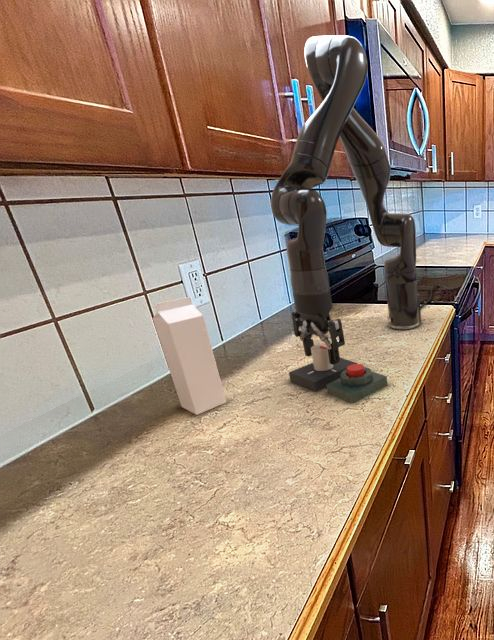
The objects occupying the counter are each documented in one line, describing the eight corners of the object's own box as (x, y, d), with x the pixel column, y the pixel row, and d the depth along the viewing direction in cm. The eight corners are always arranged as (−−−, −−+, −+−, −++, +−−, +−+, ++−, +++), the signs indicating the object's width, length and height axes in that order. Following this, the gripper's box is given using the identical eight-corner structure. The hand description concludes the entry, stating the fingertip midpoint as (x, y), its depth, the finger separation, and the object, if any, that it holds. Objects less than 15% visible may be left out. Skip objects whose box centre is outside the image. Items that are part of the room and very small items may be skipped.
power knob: (310, 368, 96) (306, 346, 94) (325, 362, 99) (322, 341, 97) (322, 372, 94) (318, 350, 92) (337, 366, 97) (334, 344, 95)
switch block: (362, 376, 98) (360, 360, 96) (387, 385, 94) (386, 369, 92) (327, 393, 90) (324, 376, 89) (353, 403, 86) (350, 386, 85)
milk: (227, 402, 87) (199, 298, 78) (196, 415, 82) (163, 306, 73) (211, 395, 90) (182, 294, 81) (180, 407, 85) (146, 301, 76)
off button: (357, 369, 93) (356, 362, 92) (368, 373, 91) (367, 366, 91) (344, 375, 90) (343, 368, 90) (355, 379, 89) (354, 372, 88)
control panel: (333, 364, 105) (332, 354, 103) (358, 372, 100) (357, 362, 99) (290, 382, 95) (288, 371, 94) (316, 392, 91) (314, 381, 90)
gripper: (348, 290, 89) (356, 360, 95) (305, 281, 96) (316, 347, 102) (318, 297, 83) (329, 372, 89) (275, 288, 90) (288, 357, 96)
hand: (322, 359), depth 96 cm, fingers open, 8 cm apart
